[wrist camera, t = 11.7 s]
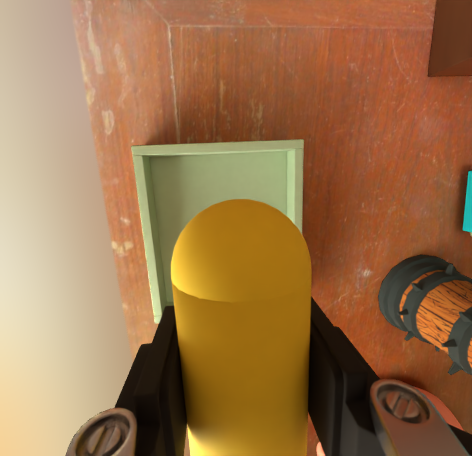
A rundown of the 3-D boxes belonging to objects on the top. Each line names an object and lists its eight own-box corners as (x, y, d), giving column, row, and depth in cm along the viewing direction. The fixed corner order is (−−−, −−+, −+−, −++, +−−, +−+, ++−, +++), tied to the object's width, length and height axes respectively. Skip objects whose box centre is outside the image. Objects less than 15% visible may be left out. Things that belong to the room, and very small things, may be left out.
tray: (142, 148, 24) (130, 145, 21) (292, 142, 25) (304, 139, 22) (161, 305, 28) (154, 323, 25) (291, 295, 29) (300, 310, 26)
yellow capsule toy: (175, 195, 9) (144, 216, 5) (288, 189, 9) (343, 205, 5) (199, 441, 11) (191, 584, 7) (287, 431, 12) (324, 562, 8)
